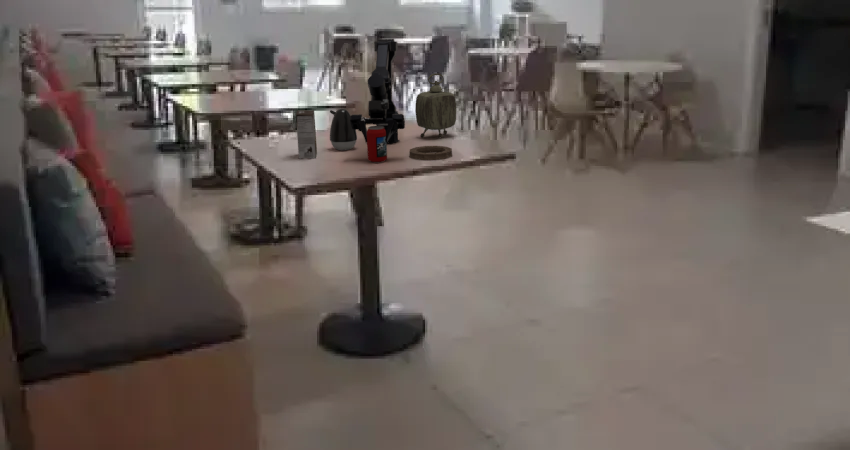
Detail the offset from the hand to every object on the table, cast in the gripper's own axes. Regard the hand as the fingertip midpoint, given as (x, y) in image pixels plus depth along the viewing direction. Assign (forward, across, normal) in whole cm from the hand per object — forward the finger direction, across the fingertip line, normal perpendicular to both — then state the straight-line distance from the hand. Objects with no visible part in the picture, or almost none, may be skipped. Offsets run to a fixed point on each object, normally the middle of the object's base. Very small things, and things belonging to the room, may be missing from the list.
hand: (376, 141), depth 283 cm
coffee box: (-3, -27, +13) cm, 30 cm away
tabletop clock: (-26, +19, +37) cm, 49 cm away
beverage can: (+4, 0, +6) cm, 7 cm away
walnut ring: (-2, +18, +12) cm, 22 cm away
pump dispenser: (-11, -16, +22) cm, 29 cm away
